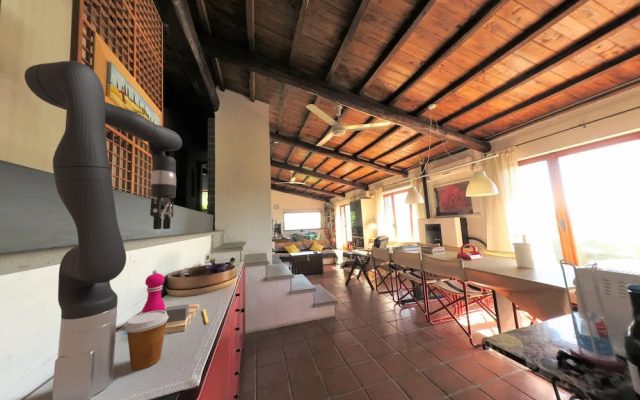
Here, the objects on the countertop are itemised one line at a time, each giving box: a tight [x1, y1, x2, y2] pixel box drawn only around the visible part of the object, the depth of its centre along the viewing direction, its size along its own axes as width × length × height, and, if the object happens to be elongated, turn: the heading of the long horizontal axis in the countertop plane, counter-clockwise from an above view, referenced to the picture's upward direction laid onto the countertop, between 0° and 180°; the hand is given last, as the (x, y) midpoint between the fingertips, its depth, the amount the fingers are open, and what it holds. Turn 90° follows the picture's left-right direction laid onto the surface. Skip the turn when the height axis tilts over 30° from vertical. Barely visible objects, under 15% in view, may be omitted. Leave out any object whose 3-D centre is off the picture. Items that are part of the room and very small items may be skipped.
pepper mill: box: [141, 269, 166, 314], centre depth 86 cm, size 7×7×20 cm
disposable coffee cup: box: [124, 310, 169, 371], centre depth 60 cm, size 10×10×12 cm
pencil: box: [202, 308, 210, 325], centre depth 88 cm, size 16×1×1 cm, turn 32°
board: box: [164, 303, 200, 335], centre depth 86 cm, size 22×8×2 cm, turn 17°
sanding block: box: [164, 303, 190, 325], centre depth 80 cm, size 4×7×5 cm, turn 107°
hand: (162, 229), depth 79 cm, fingers open, 8 cm apart
